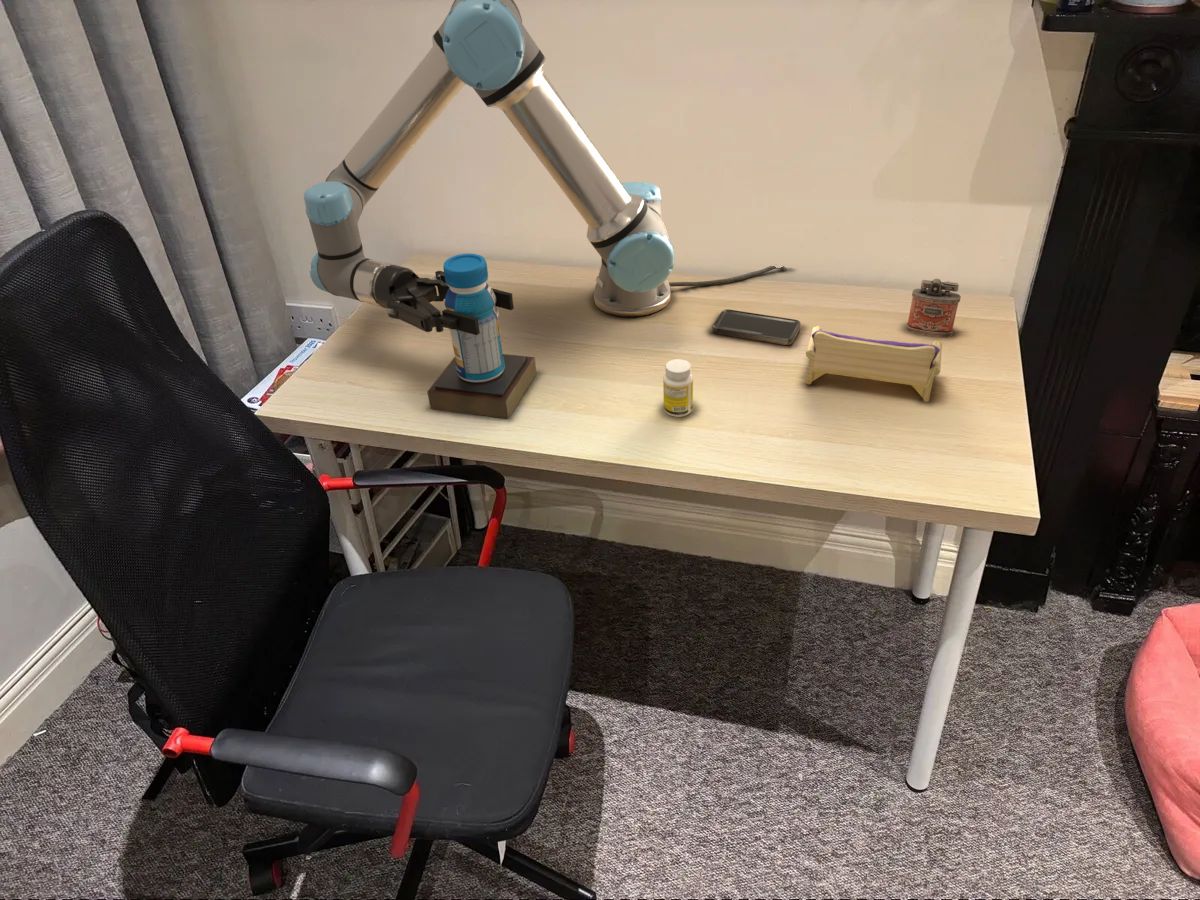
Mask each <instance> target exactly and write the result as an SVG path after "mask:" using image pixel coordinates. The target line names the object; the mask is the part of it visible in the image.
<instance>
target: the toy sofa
mask: <svg viewBox="0 0 1200 900" xmlns="http://www.w3.org/2000/svg"><path fill="white" fill-rule="evenodd" d="M942 347H943V344H942V342H941V341H940V340H934V341H932V342H931V344H928V343H917V342H916V343H915V342H901V341H894V340H885V339H884V340H880V339H871V338H865V337H860V336H859V337H858V336H854V335H853V336H852V335H846V334H840V333H837V332H832V331H827V330H822V328H821V327H820V326H817V325H816V326H813V328H812V329H811V333H810V336H809V339H808V343H807V347H806V350H805V357H806V358H807V359H808V364H807V371H806V379H805V384H806V385H812V383H813V382H814V381H816V380H817V379H819V378H820V377H822V376H824V375H825V374H831V375H837V376H845V377H851V378H858V379H865V380H866V379H867V380H873V381H882V382H888V383H895V384H901V385H906V386H911V387H913V389H914V390H915V391H916V392H917V393H918V394H919V396H920V397H921V398H922V402H926V403H927V402H929V401H930V397H931V392H932V388H933V384H934V380H935V376H938V375H940V374H941V368H942V349H943V348H942Z"/></svg>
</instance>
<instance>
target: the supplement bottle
mask: <svg viewBox="0 0 1200 900" xmlns="http://www.w3.org/2000/svg"><path fill="white" fill-rule="evenodd" d="M664 368H665V371H664V373H665V374H664V375H663V381H662V382H663V410H664V412H665V414H668V415H669V416H671V417H675V418H682V417H686V416H688V415H689V414H691V412H692V411H693V408H694V377H693V375H692V366H691V363H690V362H689V361H687V360H686V359H681V358H675V359H671V360H669V361H668V362H666V364H665V367H664Z"/></svg>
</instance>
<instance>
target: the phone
mask: <svg viewBox="0 0 1200 900" xmlns="http://www.w3.org/2000/svg"><path fill="white" fill-rule="evenodd" d="M800 329H801V321H800V320H798V319H794V318H787V317H781V316H780V317H779V316H774V315H768V314H761V313H755V312H748V311H741V310H735V309H729V308H728V309H727V308H726V309H723V310H722V311H721V312H720V314H719V315H718V317H717V318H716V319H715V321H714V323H713V325H712V332H713V334H718V335H723V336H729V337H733V338H734V337H735V338H741V339H747V340H753V341H757V342H758V341H759V342H764V343H770V344H777V345H784V346H790V345H792V344H793V343H794V341H795V339H796V337H797V335H798V333H799V331H800Z"/></svg>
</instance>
